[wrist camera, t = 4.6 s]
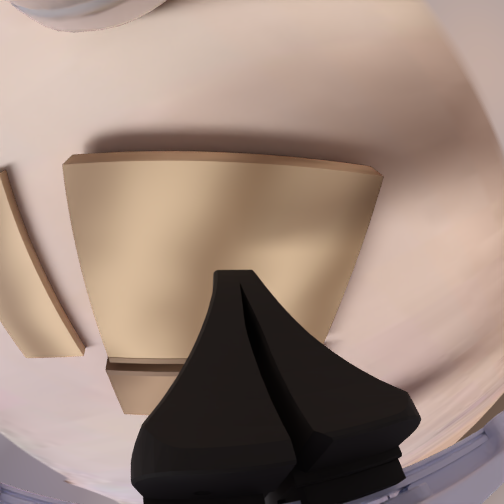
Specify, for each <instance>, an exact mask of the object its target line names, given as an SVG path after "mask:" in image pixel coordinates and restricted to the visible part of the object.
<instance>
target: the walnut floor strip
mask: <svg viewBox="0 0 504 504" xmlns="http://www.w3.org/2000/svg"><path fill="white" fill-rule="evenodd" d="M183 365H184V364H139V363H113V362H110V361H109V358H108V359H107V364H106V372H107V375H108V377H109V379H110V382H111V384H112V387H113V389H114V391H115V394H116V396H117V398H118V401H119V403H120V405H121V407H122V410H123V412H124V414H135V415H150V414H151V413H152V411H153V410H154V409H155V407H156V406H157V405H158V404H159V402H160V401H161V400H162V398H163V397H164V395H165V394H166V392H167V391H168V389H169V388H170V386H171V385H172V383H173V382H174V380H175V379H176V377H177V376H178V374H179V372H180V371H181V369H182V367H183Z"/></svg>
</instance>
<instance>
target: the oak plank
mask: <svg viewBox="0 0 504 504" xmlns="http://www.w3.org/2000/svg"><path fill="white" fill-rule="evenodd" d="M62 166H63V175H64V182H65V190H66V196H67V203H68V209H69V214H70V220H71V225H72V230H73V235H74V240H75V245H76V249H77V254H78V258H79V262H80V266H81V270H82V274H83V278H84V282H85V286H86V289H87V293H88V296H89V300H90V303H91V307H92V310H93V313H94V316H95V320H96V323H97V326H98V329H99V332H100V335H101V338H102V341H103V344H104V346H105V349H106V352H107V355H108V358H109V361H110V362H113V363H139V364H185V362H186V360H187V358H188V356H189V354H190V352H191V350H192V348H193V346H194V344H195V342H196V340H197V337H198V335H199V333H200V330H201V328H202V325H203V322H204V320H205V317H206V314H207V311H208V308H209V304H210V300H211V296H212V292H213V273H214V272H215V271H216V270H253V271H254V272H255V273H256V274H257V276H258V277H259V278H260V280H261V281H262V282H263V283H264V285H265V286H266V287H267V289H268V290H269V291H270V292H271V293H272V295H273V296H274V297H275V298H276V299H277V301H278V302H279V303H280V304H281V305H282V306H283V307H284V308H285V309H286V311H287V312H288V313H289V314H290V315H291V316H292V317H293V318H294V319H295V320H296V321H297V322H298V323H299V324H300V325H301V326H302V327H303V328H304V329H305V330H306V331H307V332H309V333H310V334H311V335H312V336H313V337H315V338H316V339H317V340H318V341H319V342H321V343H322V344H323V343H324V341H325V339H326V336H327V334H328V332H329V329H330V327H331V324H332V322H333V320H334V317H335V315H336V312H337V310H338V307H339V305H340V303H341V300H342V297H343V295H344V292H345V290H346V287H347V285H348V282H349V279H350V277H351V274H352V271H353V269H354V266H355V263H356V260H357V258H358V255H359V252H360V249H361V246H362V243H363V240H364V238H365V235H366V232H367V229H368V226H369V223H370V220H371V216H372V213H373V210H374V207H375V204H376V201H377V197H378V194H379V191H380V187H381V184H382V180H383V177H384V176H382V175H381V174H380V173H379V172H377V171H376V170H375V169H373V168H372V167H371V166H365V165H358V164H350V163H343V162H335V161H327V160H318V159H308V158H298V157H288V156H276V155H262V154H247V153H227V152H197V151H139V152H109V153H91V154H76V155H72V156H71V157H70V158H69V159H68V160H67V161H66V162H65V163H64V164H63V165H62Z"/></svg>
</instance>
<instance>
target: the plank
mask: <svg viewBox="0 0 504 504" xmlns="http://www.w3.org/2000/svg"><path fill="white" fill-rule="evenodd" d="M0 321H1V323H2V324H3V326H4V327H5V329H6V330H7V332H8V333H9V335H10V336H11V338H12V339H13V341H14V342H15V344H16V345H17V346H18V348H19V349H20V350H21V352H22V353H23V355H24V356H25V357H26V358H48V357H74V356H84V352H85V346H84V345H83V343H82V342H81V340H80V338H79V337H78V335H77V333H76V332H75V330H74V328H73V326H72V325H71V323H70V321H69V319H68V318H67V316H66V314H65V312H64V310H63V308H62V307H61V305H60V303H59V301H58V299H57V297H56V295H55V293H54V291H53V289H52V287H51V285H50V283H49V281H48V279H47V277H46V275H45V273H44V270H43V268H42V266H41V264H40V262H39V259H38V257H37V255H36V253H35V250H34V248H33V246H32V243H31V241H30V238H29V236H28V233H27V231H26V228H25V226H24V223H23V220H22V218H21V215H20V212H19V209H18V206H17V203H16V201H15V198H14V195H13V191H12V188H11V185H10V182H9V179H8V175H7V172H6V170H5V171H2V172H0Z"/></svg>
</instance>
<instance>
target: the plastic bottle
mask: <svg viewBox="0 0 504 504" xmlns="http://www.w3.org/2000/svg"><path fill="white" fill-rule="evenodd" d="M6 1H8V2H10V3H11V4H12V5H13V6H14V7H15V8H17V9H18V10H19V11H20V12H22V13H23V14H25V15H26V16H28V17H29V18H31V19H33V20H35V21H36V22H38V23H40V24H41V25H43V26H45V27H48V28H51V29H54V30H57V31H65V32H84V31H95V30H104V29H108V28H112V27H117V26H120V25H123V24H126V23H128V22H131V21H134V20H136V19H138V18H140V17H142V16H143V15H145V14H147V13H149V12H151V11H152V10H154V9H155V8H157V7H158V6H160V5H161V4H162V3H164V2H165V1H166V0H6Z"/></svg>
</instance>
